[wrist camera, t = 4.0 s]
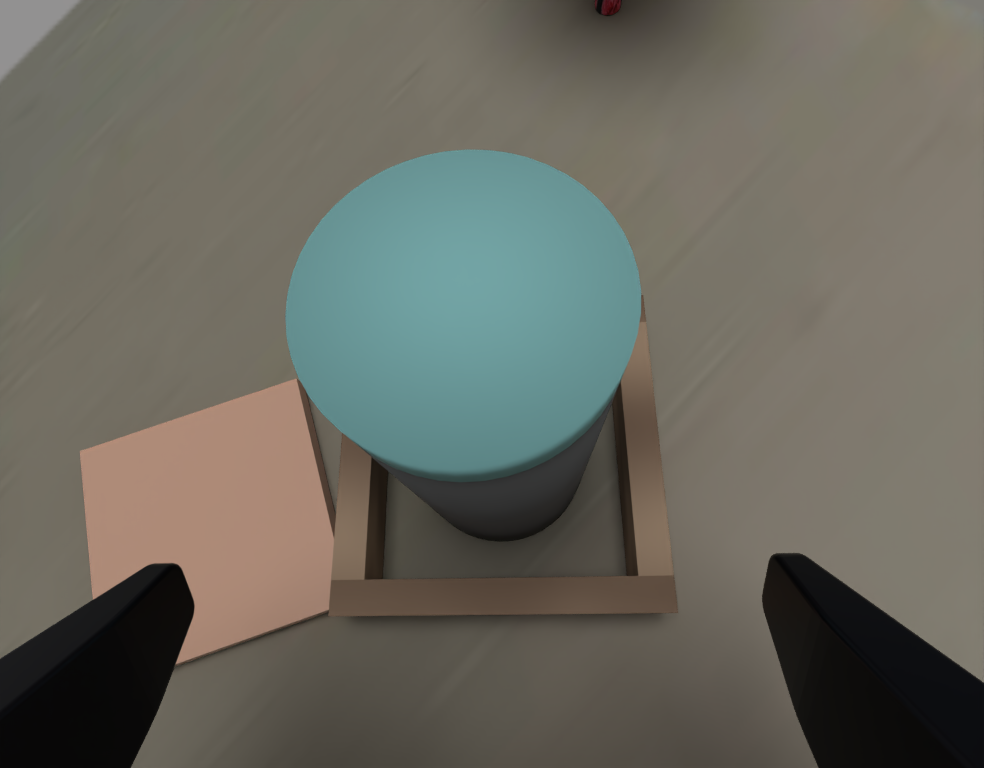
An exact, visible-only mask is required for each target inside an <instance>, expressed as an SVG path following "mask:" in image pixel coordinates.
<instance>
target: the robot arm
mask: <svg viewBox="0 0 984 768" xmlns="http://www.w3.org/2000/svg"><path fill="white" fill-rule="evenodd" d="M762 603H763V609H764V613H765V616H766V620H767V623H768V626H769V629H770V633H771V636H772V639H773V642H774V645H775V649H776V652H777V655H778V658H779V662H780V665H781V668H782V671H783V675H784V678H785V681H786V684H787V687H788V691H789V694H790V697H791V700H792V703H793V706H794V709H795V712H796V715H797V717H798V720H799V722H800V725H801V727H802V730H803V732H804V735H805V737H806V740H807V742H808V744H809V747H810V749H811V751H812V754H813V756H814V758H815V761H816V763H817V765H818V768H984V683H983V682H982V681H981V680H979V679H978V678H976V677H975V676H974V675H972V674H971V673H969V672H968V671H967V670H965V669H964V668H962V667H961V666H960V665H958V664H957V663H955V662H954V661H953V660H951V659H950V658H948V657H947V656H946V655H944V654H943V653H941V652H940V651H939V650H937V649H936V648H934V647H933V646H931V645H930V644H929V643H927V642H926V641H924V640H923V639H922V638H920V637H919V636H917V635H916V634H915V633H913V632H912V631H910V630H909V629H908V628H906V627H905V626H903V625H902V624H901V623H899V622H898V621H896V620H895V619H894V618H892V617H891V616H889V615H888V614H887V613H885V612H884V611H882V610H881V609H880V608H878V607H877V606H875V605H874V604H873V603H871V602H870V601H868V600H867V599H865V598H864V597H863V596H861V595H860V594H858V593H857V592H856V591H854V590H853V589H851V588H850V587H849V586H847V585H846V584H844V583H843V582H842V581H840V580H839V579H837V578H836V577H835V576H833V575H832V574H830V573H829V572H828V571H826V570H825V569H823V568H822V567H821V566H819V565H818V564H816V563H815V562H814V561H812V560H811V559H809V558H808V557H806V556H805V555H803V554H800V553H776V554H773V555H772V556H771V557H770V560H769V563H768V568H767V573H766V578H765V583H764V588H763V594H762ZM194 609H195V605H194V599H193V596H192V594H191V591H190V589H189V586H188V583H187V581H186V578H185V575H184V573H183V570H182V568H181V567H180V566H179V565H178V564H175V563H154V564H150V565H147V566H146V567H144V568H142V569H141V570H139V571H138V572H136V573H134V574H133V575H131V576H130V577H128V578H127V579H125V580H123V581H122V582H120V583H119V584H117V585H116V586H114V587H112V588H111V589H109V590H108V591H106V592H105V593H103V594H101V595H100V596H98V597H97V598H95V599H94V600H92V601H90V602H89V603H87V604H86V605H84V606H83V607H81V608H79V609H78V610H76V611H75V612H73V613H71V614H70V615H68V616H67V617H65V618H64V619H62V620H60V621H59V622H57V623H56V624H54V625H53V626H51V627H49V628H48V629H46V630H45V631H43V632H42V633H40V634H38V635H37V636H35V637H34V638H32V639H31V640H29V641H27V642H26V643H24V644H23V645H21V646H20V647H18V648H16V649H15V650H13V651H12V652H10V653H8V654H7V655H5V656H4V657H2V658H1V659H0V768H131V766H132V764H133V762H134V760H135V758H136V756H137V754H138V752H139V750H140V748H141V745H142V743H143V741H144V739H145V737H146V735H147V733H148V731H149V729H150V727H151V724H152V722H153V720H154V718H155V716H156V714H157V711H158V709H159V706H160V704H161V701H162V699H163V696H164V694H165V691H166V688H167V686H168V683H169V680H170V678H171V675H172V672H173V670H174V667H175V664H176V662H177V659H178V656H179V654H180V651H181V648H182V646H183V643H184V640H185V638H186V635H187V632H188V630H189V627H190V624H191V622H192V619H193V616H194Z"/></svg>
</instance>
